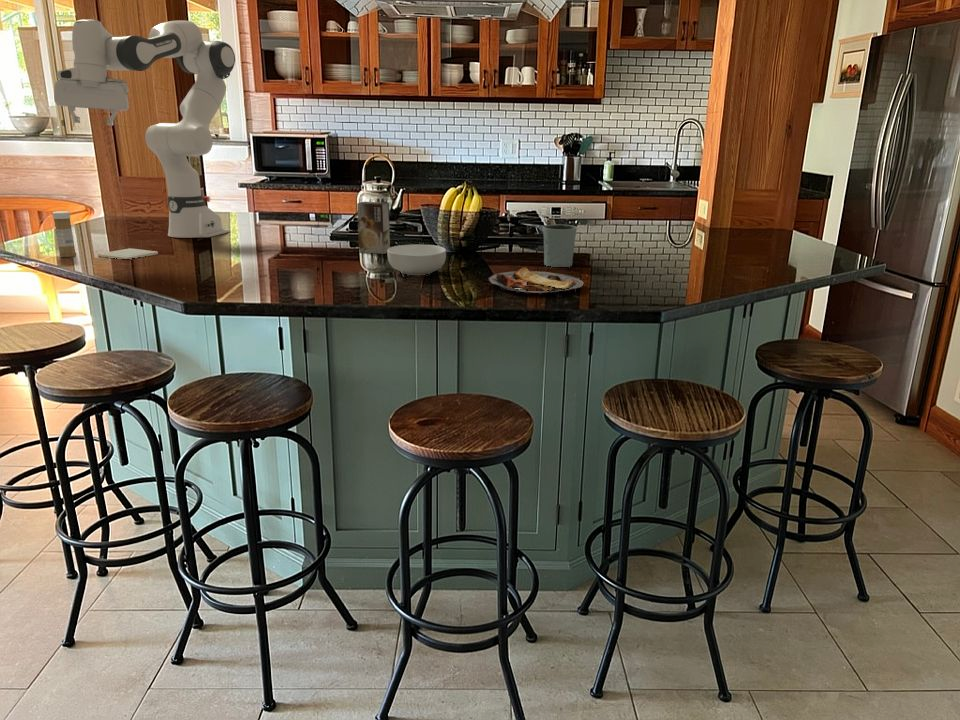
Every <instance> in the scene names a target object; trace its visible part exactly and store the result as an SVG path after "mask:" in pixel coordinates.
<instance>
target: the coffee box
mask: <svg viewBox="0 0 960 720" xmlns="http://www.w3.org/2000/svg"><path fill="white" fill-rule="evenodd" d="M356 206H357V207H356V208H357V211H356V213H357V229H358V231H357V232H358V235H357V236H358V253H362V254H377V255H378V254H379V255H381V254H382V255H385V254H387V250H388V249H389V248H391V238H390V237H391V236H390V235H391V234H390V230H391V229H390V203H389V202H382V201H381V202H378V201H361V202H358V203H357V204H356Z"/></svg>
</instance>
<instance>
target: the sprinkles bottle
mask: <svg viewBox="0 0 960 720" xmlns="http://www.w3.org/2000/svg"><path fill="white" fill-rule="evenodd" d="M52 218H53V223H54V229H55V234H56V235H55V236H56V240H57V241H56V242H57V246H58V252H59V257H61V258H72V257H76V256H77V253H76V248H75V242H74V235H73V228H72V224H71V212H70V211H66V210H65V211H64V210H61V211H53V212H52Z"/></svg>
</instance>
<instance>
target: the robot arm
mask: <svg viewBox="0 0 960 720" xmlns="http://www.w3.org/2000/svg"><path fill="white" fill-rule="evenodd" d="M71 38H72V39H71V41H72V42H71V43H72V45H71V46H72V51H73V53H74V59H73V67H70V68H66V69H61V70H58V71H56V78H57V80H56V82H55V84H54V89H53V90H54V91H53V97H54V98H53V100H54V103H55V104H56V105H57V106H60V107H67V110H68V112H69V113H70V115H71V116H72V123H76V124H80V123H81V118H80V117H81V116H80V117H79V116H77V114H76V113H75V111H76V108H82V109H83V108H84V109H94V110H95V109H96V110H107V111H109V113H110V114H111V115H110V117H109V118H106V125H107V126H114V119H115V118H116V117H117V115H118V111H119V112H120V111H121V112H127V111H128V110H129V109H130V104H129V103H130V102H129V97H128V93H129V84H128V83H127V81H125V80H124V79H122V78H111V77H108V71H113V72H114V71H115V72H116V71H117V72H118V71H119V72H120V71H123V72H124V71H125V72H126V71H135V72H144V71H146V70H148V69H149V68H150V67H151V66H152V65H153V64H154V63H155V62H156V61H158V60H160V59H174V58H176V61H177V64H178V66H179V68H180V69H181V70H182V71H183V72H185V73H187V74H191V75H197V76H196V81H195V82H194V84H193V85H192V86H191V88H190V89H189V91H188V92H187V94H186V96H185V97H183V99H182V102H181V103H180V105H179V112H180V115H181V116H182V117H181V118H182V119H181V120H180V121H179V122H159V123H156V124H153V125H150V126H148V127H147V128H146V131H145V134H144V138H145V143H146V145H147V147H148V149H149V150H150V151H152V152H153V154H155V156H156V157H157V159H158V160H159V162H160V164H161V167H162V169H163V172H164V177H165V181H166V183H165V184H166V189H167V196H166V198H167V200H166V201H167V206H168V209H169V210H168V211H169V213H168V233H167V236H168V237H170V238H181V239H183V238H185V239H186V238H189V239H190V238H212V237H214V236H219V235H222V234H226V233H230V229H229V228H226V227H225V228H224V227H223V224H222V223H223V222H222V219H221V217H220V215H219V213H218V214H217V213H216V212H215V211H213V210H212V209H211V208H210V207H208V206H207V205H206V204H207V203H211V200H210V199H211V197H210V196H209V195H208V196H206V195H205V196H203V195H202V190H201V181H200V180H201V179H200V173H199V172H198V171H197V170H196V169H195V168H193V167H192V166H191V164H190V162H189V160H188V158H187V157H199V156H204V155H206V154H207V155H208V154H209V153H210V152H211V150H212V147H213V142H214V141H213V137H212V133H211V131H210V130H209V128H210V124H211V122H212V121H213V119H214V117H215V115H216V114H217V113H218V110H219V108H220V107H221V105H222V103H223V100H224V98H225V95H226V92H227V84H226V82H225V81H224V80H226V79H227V78H229V77H230V75H231V73H232V71H233V69H234V67H235V63H236V54H235V52H234V49H233V47H232V46H231V45H230V44H228V43H227V42H224V41H221V40H214V41H213V40H204V39H203V34H202V31H201V28H200V27H199V26H198V25H197V24H196V23H194V22H193V21H191V20H185V19H184V20H182V19H181V20H180V19H179V20H170V21H166V22H161V23H159V24H157V25H155V26H153V27H152V28H151V29H150V31H149V36H148V38H146V37H143V36H141V35H128V36H127V35H126V36H115V35H113V34H111V33H110V32H109V31H107V29H106V28H105V27H104V26H103V24H102V22H101V21H99V20H98V19H97V20H96V19H79V20H76V21H75V22H74V23H73V26H72V35H71ZM206 202H207V203H206Z"/></svg>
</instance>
